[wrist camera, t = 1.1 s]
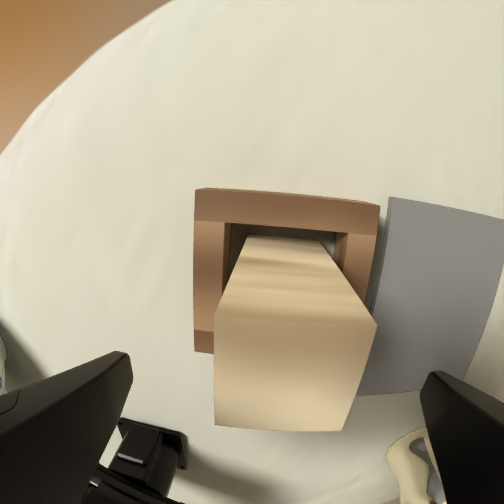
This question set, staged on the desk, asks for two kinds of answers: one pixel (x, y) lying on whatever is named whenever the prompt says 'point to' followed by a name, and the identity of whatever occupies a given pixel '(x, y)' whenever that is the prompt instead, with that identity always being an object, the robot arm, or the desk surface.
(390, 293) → the rubber mat
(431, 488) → the beer glass
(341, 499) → the desk surface
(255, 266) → the peg
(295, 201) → the collar
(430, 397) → the robot arm
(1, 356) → the chinaware
